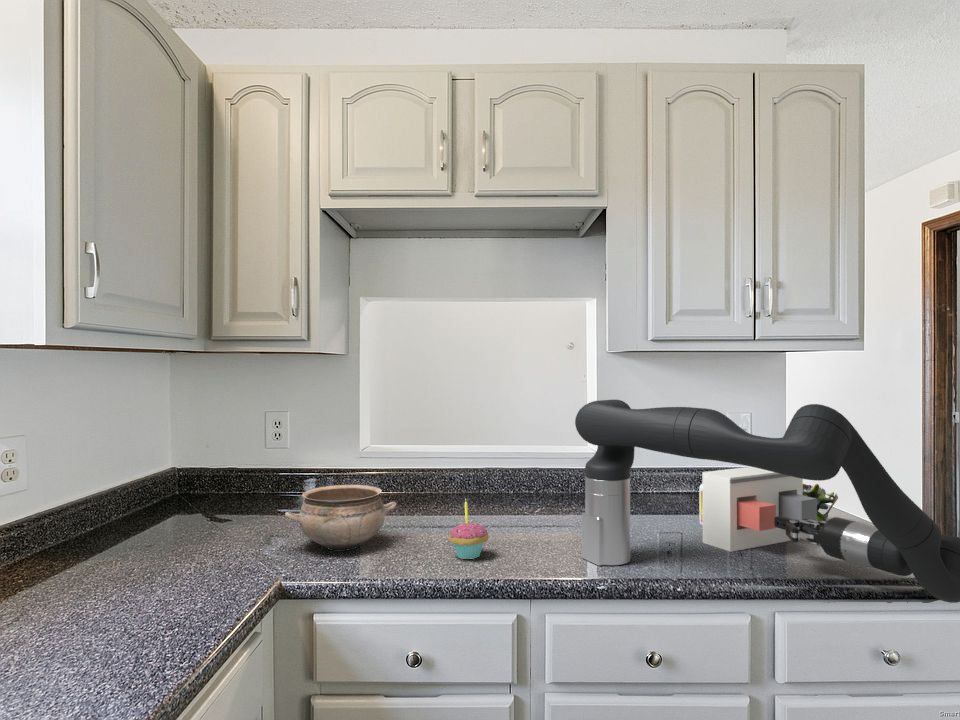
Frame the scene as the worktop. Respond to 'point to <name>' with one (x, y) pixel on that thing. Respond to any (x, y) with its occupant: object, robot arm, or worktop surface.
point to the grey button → (797, 507)
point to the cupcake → (468, 538)
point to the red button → (756, 514)
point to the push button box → (739, 486)
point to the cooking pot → (341, 515)
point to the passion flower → (820, 499)
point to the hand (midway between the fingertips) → (777, 521)
